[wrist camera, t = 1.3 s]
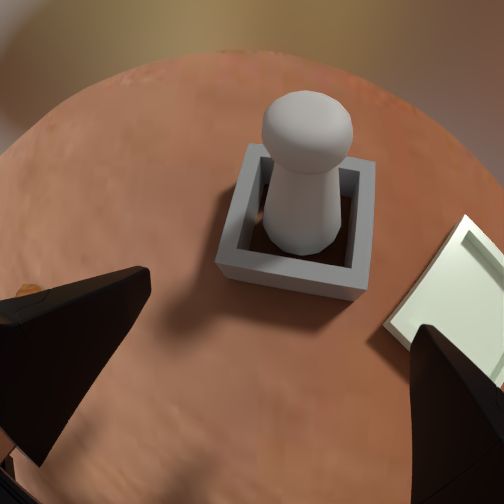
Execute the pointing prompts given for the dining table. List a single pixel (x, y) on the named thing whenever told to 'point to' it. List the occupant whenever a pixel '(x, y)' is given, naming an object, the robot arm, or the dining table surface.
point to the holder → (288, 269)
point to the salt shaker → (305, 170)
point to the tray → (460, 299)
